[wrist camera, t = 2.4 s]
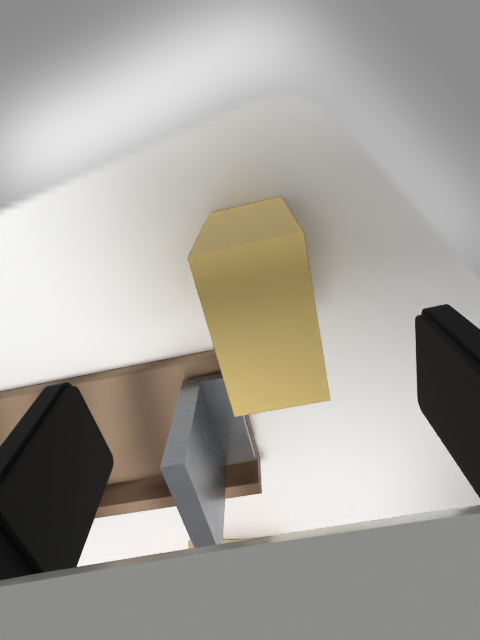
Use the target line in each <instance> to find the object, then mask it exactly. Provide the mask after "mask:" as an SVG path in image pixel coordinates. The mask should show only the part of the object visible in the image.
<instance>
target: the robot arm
mask: <svg viewBox="0 0 480 640" xmlns="http://www.w3.org/2000/svg"><path fill="white" fill-rule="evenodd" d="M415 333H416V364H417V396H418V403H419V406H420V409H421V411H422V412H423V414H424V415H425V417H426V418H427V420H428V421H429V423H430V424H431V426H432V427H433V429H434V430H435V432H436V433H437V435H438V436H439V438H440V439H441V441H442V442H443V444H444V445H445V447H446V448H447V450H448V451H449V453H450V454H451V456H452V457H453V459H454V460H455V462H456V463H457V465H458V466H459V468H460V469H461V471H462V472H463V474H464V475H465V477H466V478H467V480H468V481H469V483H470V484H471V486H472V487H473V489H474V490H475V492H476V493H477V494H478V496H479V497H480V329H478V328H477V327H476V326H475V325H473V324H472V323H471V322H470V321H469V320H467V319H466V318H465V317H464V316H462V315H461V314H460V313H459V312H457V311H456V310H455V309H454V308H452V307H451V306H450V305H448V304H445V305H440V306H435V307H430V308H425V309H423V310H422V313H421V315H419V316H416V319H415ZM113 464H114V460H113V455H112V453H111V451H110V449H109V447H108V445H107V443H106V441H105V439H104V437H103V435H102V433H101V431H100V429H99V427H98V425H97V423H96V422H95V420H94V418H93V416H92V414H91V412H90V410H89V408H88V406H87V404H86V402H85V400H84V398H83V396H82V394H81V392H80V390H79V389H78V388H77V387H76V386H72V385H71V384H70V383H68V382H65V383H60V384H55V385H50V386H46V387H45V388H44V389H43V390H42V392H41V393H40V394H39V396H38V397H37V398H36V400H35V401H34V402H33V404H32V405H31V406H30V408H29V409H28V410H27V412H26V413H25V414H24V416H23V417H22V418H21V420H20V421H19V422H18V424H17V425H16V426H15V427H14V429H13V430H12V431H11V433H10V434H9V435H8V437H7V438H6V439H5V441H4V442H3V443H2V445H1V446H0V640H480V505H478V506H470V507H463V508H455V509H448V510H441V511H433V512H426V513H418V514H412V515H405V516H399V517H392V518H386V519H379V520H372V521H366V522H359V523H353V524H346V525H339V526H333V527H326V528H320V529H313V530H307V531H300V532H293V533H287V534H281V535H274V536H268V537H261V538H255V539H249V540H242V541H236V542H230V543H223V544H217V545H211V546H204V547H198V548H192V549H185V550H179V551H173V552H167V553H160V554H154V555H148V556H142V557H135V558H129V559H123V560H117V561H111V562H105V563H99V564H93V565H87V566H81V567H77V564H78V561H79V558H80V556H81V553H82V550H83V548H84V545H85V542H86V539H87V537H88V534H89V531H90V529H91V526H92V523H93V521H94V518H95V515H96V512H97V510H98V507H99V504H100V502H101V499H102V496H103V493H104V491H105V488H106V485H107V483H108V480H109V477H110V474H111V472H112V469H113Z"/></svg>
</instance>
